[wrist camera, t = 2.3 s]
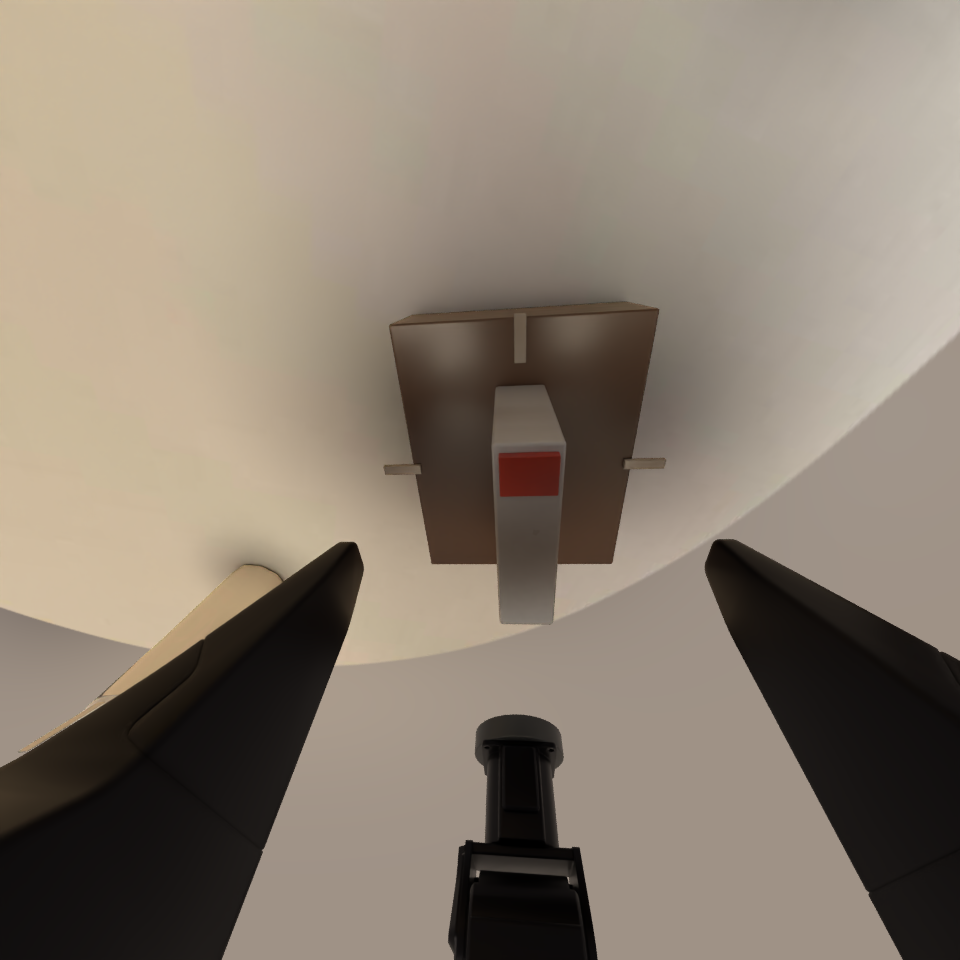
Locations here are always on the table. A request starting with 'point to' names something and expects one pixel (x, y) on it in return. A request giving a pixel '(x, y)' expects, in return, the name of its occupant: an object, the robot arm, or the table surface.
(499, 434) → the tap handle
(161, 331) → the table surface
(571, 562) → the block
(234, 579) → the milkshake
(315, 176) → the table surface
